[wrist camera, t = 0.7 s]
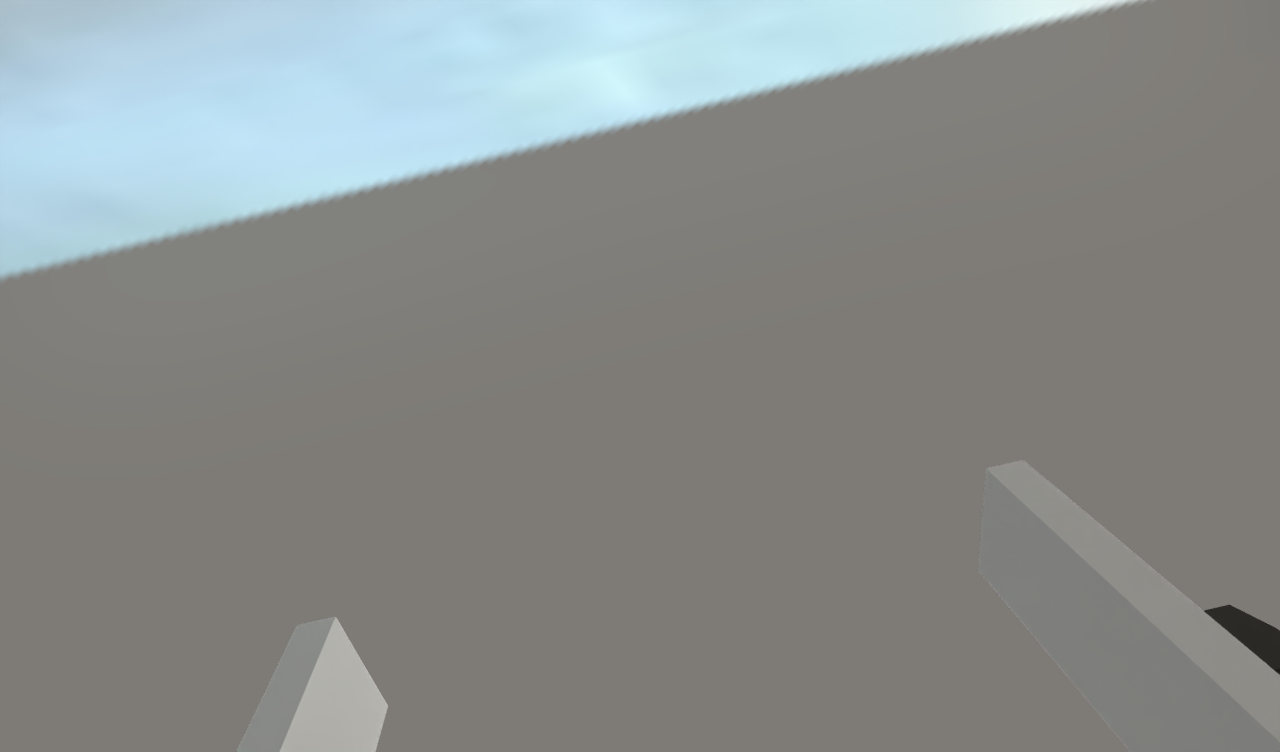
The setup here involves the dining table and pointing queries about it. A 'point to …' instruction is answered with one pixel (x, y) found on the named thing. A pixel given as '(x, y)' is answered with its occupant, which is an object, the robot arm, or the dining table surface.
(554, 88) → the dining table surface
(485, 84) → the dining table surface
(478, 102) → the dining table surface
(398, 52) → the dining table surface
